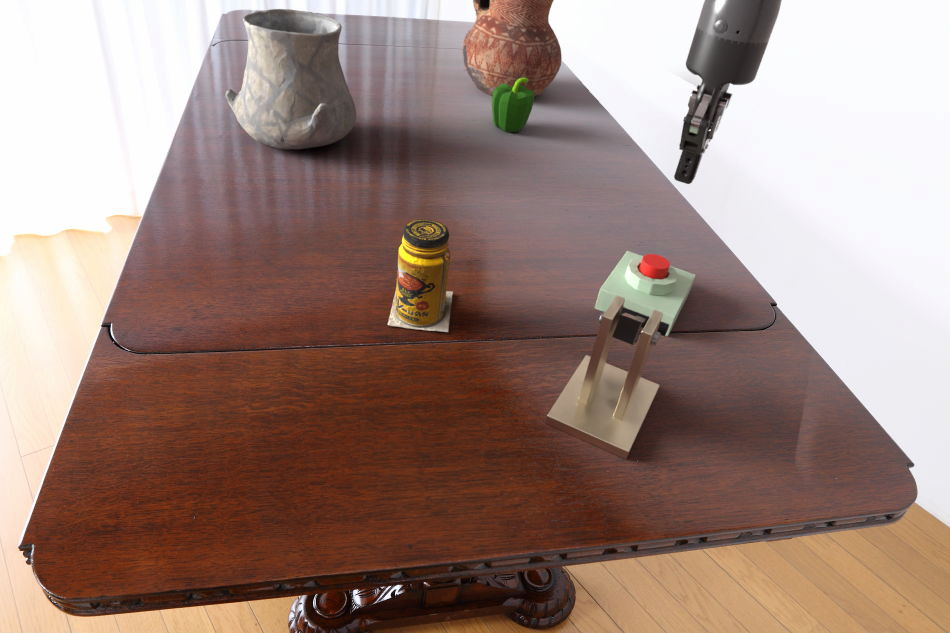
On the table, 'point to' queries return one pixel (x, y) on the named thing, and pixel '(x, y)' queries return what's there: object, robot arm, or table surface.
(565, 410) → the bracket
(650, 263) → the stop button
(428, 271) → the condiment
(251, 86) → the vessel
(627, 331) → the lever
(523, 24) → the jug
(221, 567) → the table surface
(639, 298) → the stop block
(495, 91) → the bell pepper
